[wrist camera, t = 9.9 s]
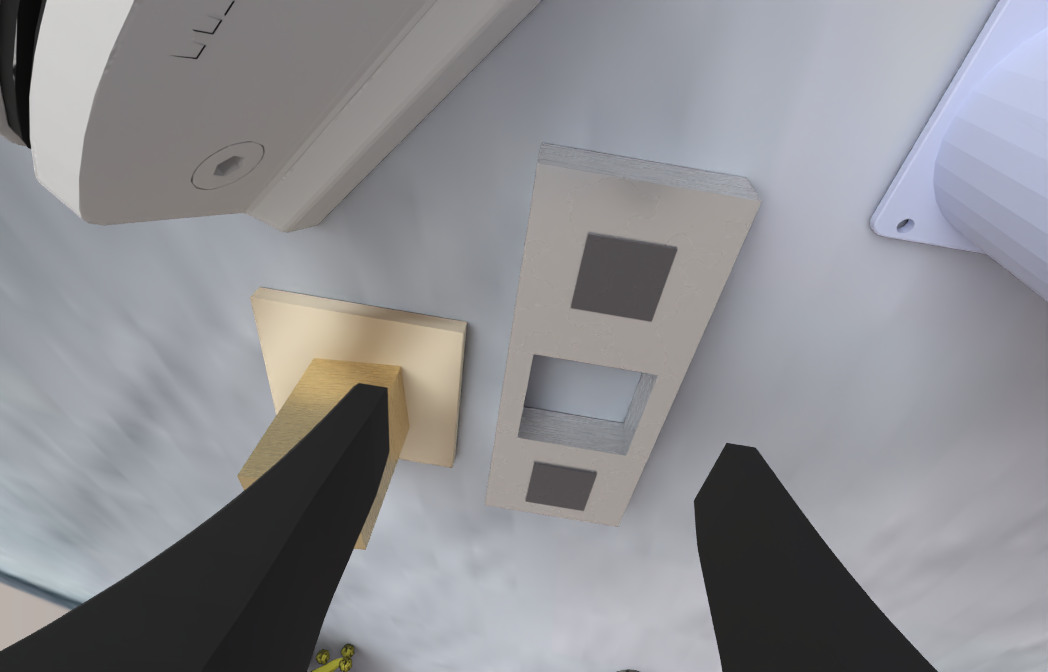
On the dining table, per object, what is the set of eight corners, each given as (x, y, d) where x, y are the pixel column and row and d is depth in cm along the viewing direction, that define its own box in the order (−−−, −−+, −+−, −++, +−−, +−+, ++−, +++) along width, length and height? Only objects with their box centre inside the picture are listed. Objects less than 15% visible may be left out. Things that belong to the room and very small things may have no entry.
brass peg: (409, 427, 26) (365, 549, 21) (330, 419, 26) (267, 539, 21) (400, 365, 23) (348, 487, 18) (313, 358, 24) (237, 475, 18)
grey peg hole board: (745, 177, 18) (762, 203, 16) (616, 494, 29) (618, 528, 27) (541, 142, 18) (537, 164, 16) (490, 473, 29) (484, 506, 27)
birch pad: (466, 322, 22) (463, 333, 22) (455, 455, 28) (452, 467, 27) (259, 287, 22) (250, 297, 22) (288, 428, 28) (281, 439, 27)
